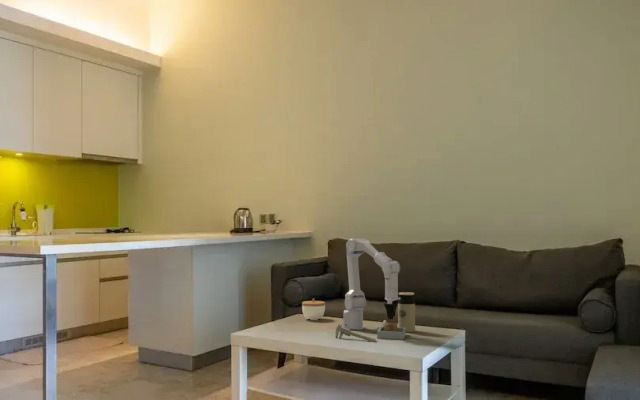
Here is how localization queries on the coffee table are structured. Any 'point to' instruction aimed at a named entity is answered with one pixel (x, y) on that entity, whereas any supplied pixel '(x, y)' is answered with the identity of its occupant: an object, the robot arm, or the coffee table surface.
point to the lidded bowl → (313, 309)
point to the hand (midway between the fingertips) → (391, 317)
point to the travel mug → (406, 311)
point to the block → (391, 327)
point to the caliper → (349, 332)
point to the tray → (391, 333)
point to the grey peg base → (383, 325)
